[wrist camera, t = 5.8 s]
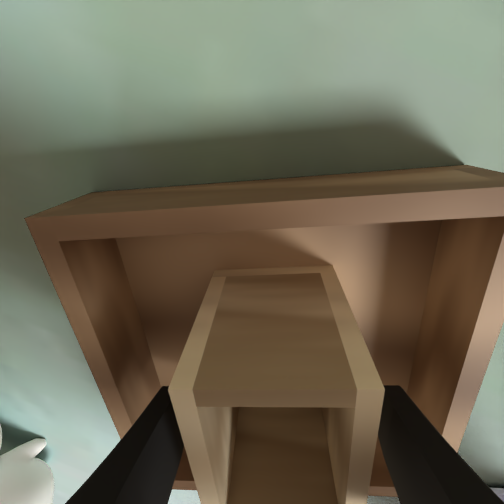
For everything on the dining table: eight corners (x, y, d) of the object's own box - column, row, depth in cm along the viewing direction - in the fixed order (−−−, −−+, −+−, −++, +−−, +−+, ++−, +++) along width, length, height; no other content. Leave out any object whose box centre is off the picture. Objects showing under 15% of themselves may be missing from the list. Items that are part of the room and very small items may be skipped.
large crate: (408, 425, 16) (441, 498, 13) (165, 422, 18) (142, 488, 15) (466, 164, 10) (552, 183, 7) (91, 192, 12) (24, 218, 8)
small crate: (327, 384, 15) (360, 541, 9) (232, 385, 15) (209, 533, 10) (332, 265, 12) (384, 389, 6) (214, 270, 12) (168, 389, 7)
